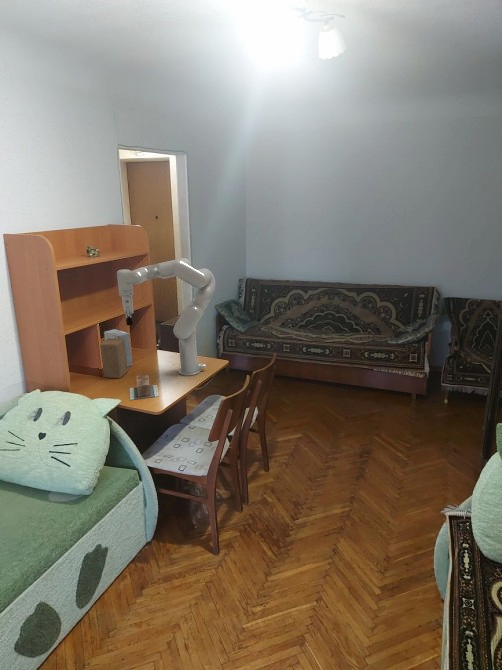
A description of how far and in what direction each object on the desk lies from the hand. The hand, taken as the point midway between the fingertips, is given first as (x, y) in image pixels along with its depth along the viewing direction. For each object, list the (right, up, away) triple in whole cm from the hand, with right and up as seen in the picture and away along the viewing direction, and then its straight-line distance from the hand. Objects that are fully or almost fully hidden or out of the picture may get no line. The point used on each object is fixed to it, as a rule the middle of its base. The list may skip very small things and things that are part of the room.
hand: (129, 324), depth 253 cm
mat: (+13, -35, -21) cm, 43 cm away
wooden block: (-8, -28, +2) cm, 29 cm away
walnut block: (+11, -29, -15) cm, 35 cm away
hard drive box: (-10, -23, +17) cm, 31 cm away
